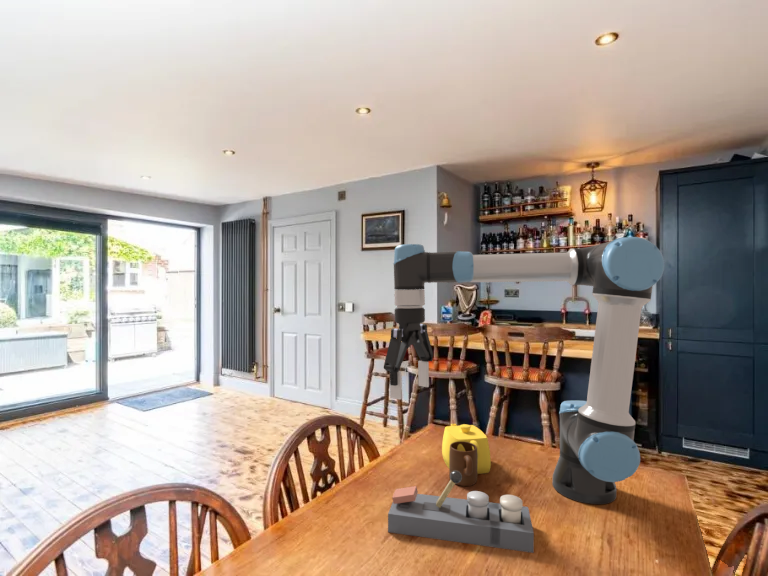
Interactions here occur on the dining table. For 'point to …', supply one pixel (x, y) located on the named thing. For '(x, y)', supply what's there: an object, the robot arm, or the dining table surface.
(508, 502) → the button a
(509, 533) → the console
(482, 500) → the button
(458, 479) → the lever
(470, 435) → the teapot
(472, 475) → the mug
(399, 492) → the rocker
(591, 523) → the dining table surface
